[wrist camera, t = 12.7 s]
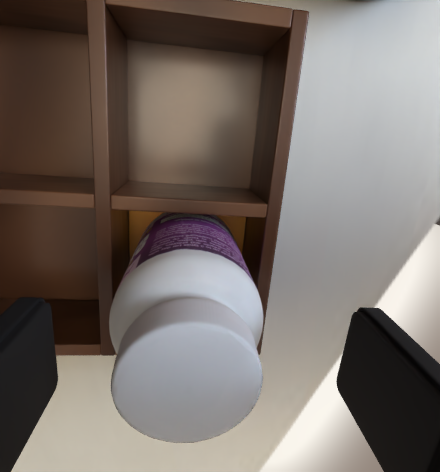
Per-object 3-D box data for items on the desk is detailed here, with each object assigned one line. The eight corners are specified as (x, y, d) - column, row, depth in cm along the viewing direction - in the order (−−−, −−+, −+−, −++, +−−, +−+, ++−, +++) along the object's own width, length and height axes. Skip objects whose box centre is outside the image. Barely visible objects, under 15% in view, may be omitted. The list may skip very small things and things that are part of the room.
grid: (274, 46, 15) (309, 10, 11) (244, 306, 19) (260, 355, 15) (-51, 5, 13) (-164, -56, 9) (-4, 302, 18) (-66, 356, 13)
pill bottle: (130, 210, 16) (54, 310, 7) (231, 200, 16) (287, 281, 7) (147, 301, 18) (104, 478, 9) (238, 290, 18) (290, 447, 9)
